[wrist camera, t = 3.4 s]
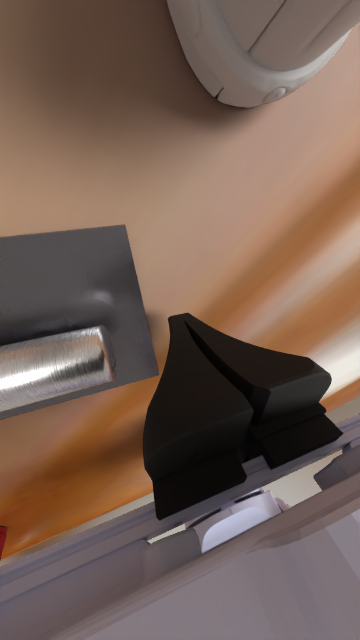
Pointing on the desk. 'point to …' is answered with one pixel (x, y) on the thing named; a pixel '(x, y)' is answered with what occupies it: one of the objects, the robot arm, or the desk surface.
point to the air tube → (55, 366)
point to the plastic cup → (2, 538)
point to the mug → (260, 43)
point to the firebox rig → (75, 298)
